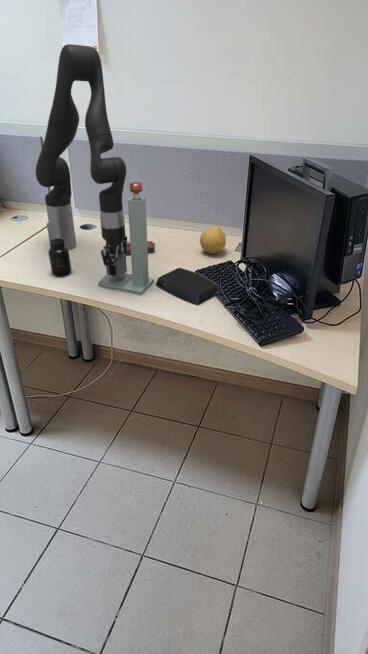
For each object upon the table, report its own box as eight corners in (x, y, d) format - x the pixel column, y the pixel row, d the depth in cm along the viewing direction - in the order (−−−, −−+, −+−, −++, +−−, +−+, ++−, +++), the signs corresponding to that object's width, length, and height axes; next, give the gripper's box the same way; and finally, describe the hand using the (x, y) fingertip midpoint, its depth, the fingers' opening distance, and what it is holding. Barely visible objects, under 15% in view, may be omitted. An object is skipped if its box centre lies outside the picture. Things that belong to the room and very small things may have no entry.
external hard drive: (180, 274, 168) (180, 264, 166) (222, 293, 157) (223, 282, 155) (153, 287, 160) (153, 276, 158) (196, 308, 149) (196, 296, 147)
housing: (106, 274, 159) (105, 256, 155) (114, 268, 162) (112, 250, 159) (120, 277, 157) (118, 259, 153) (127, 271, 161) (125, 253, 157)
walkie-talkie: (153, 244, 189) (103, 249, 185) (153, 234, 187) (102, 239, 182) (158, 253, 182) (105, 259, 178) (157, 243, 179) (104, 248, 175)
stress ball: (198, 257, 181) (211, 248, 172) (192, 233, 182) (206, 223, 173) (219, 256, 186) (233, 247, 177) (214, 232, 187) (228, 222, 178)
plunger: (129, 209, 143) (127, 184, 139) (134, 205, 146) (133, 181, 142) (139, 211, 142) (138, 186, 138) (145, 207, 145) (144, 182, 141)
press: (98, 286, 159) (88, 198, 142) (112, 273, 167) (105, 188, 150) (141, 295, 154) (136, 205, 138) (153, 281, 162) (151, 194, 145)
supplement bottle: (75, 270, 169) (71, 238, 163) (65, 278, 164) (60, 246, 157) (58, 267, 171) (53, 235, 164) (48, 275, 166) (42, 243, 159)
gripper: (113, 214, 157) (116, 261, 166) (90, 229, 146) (96, 278, 155) (133, 217, 155) (136, 264, 164) (112, 232, 143) (116, 282, 153)
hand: (116, 271), depth 159 cm, fingers closed on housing, 5 cm apart
